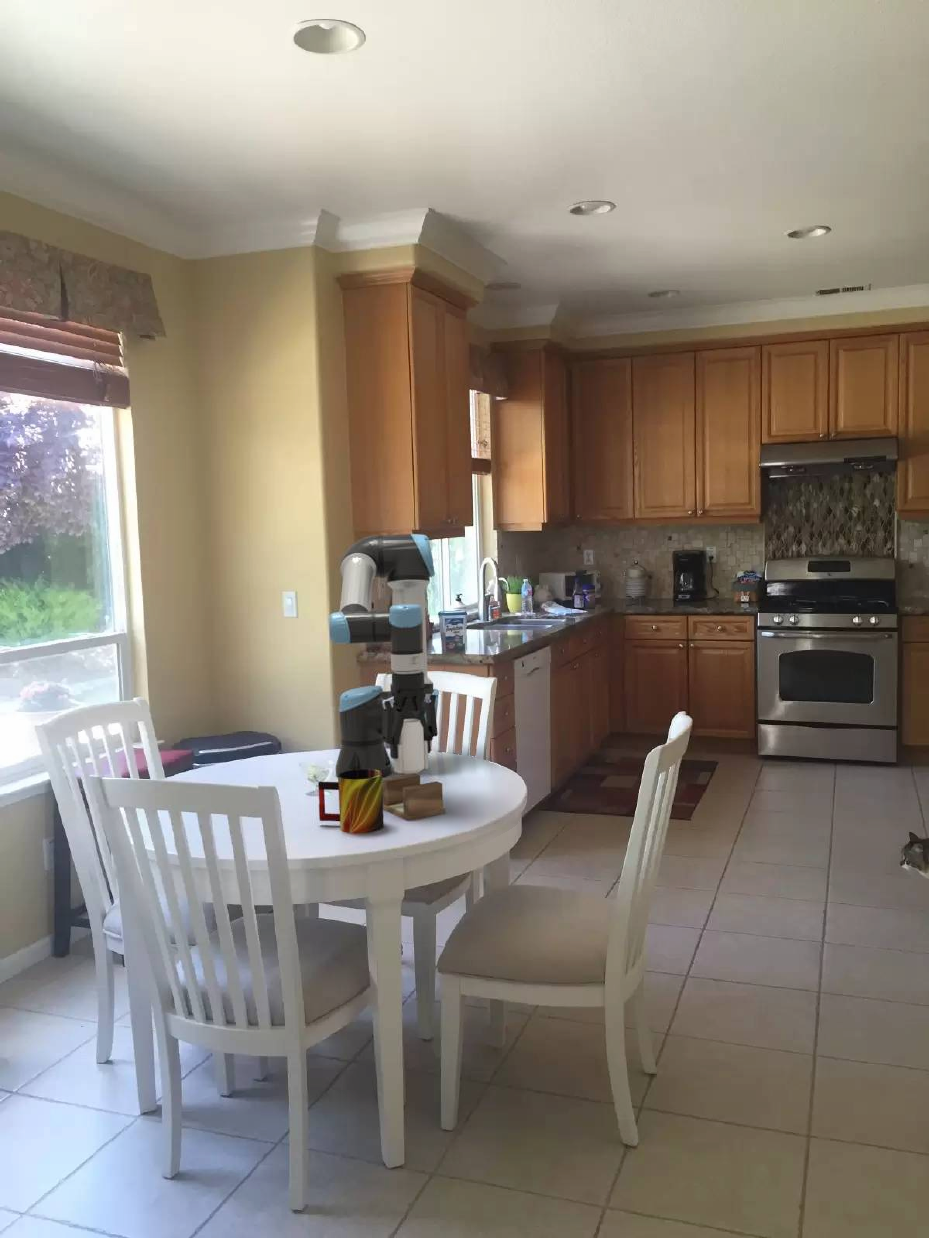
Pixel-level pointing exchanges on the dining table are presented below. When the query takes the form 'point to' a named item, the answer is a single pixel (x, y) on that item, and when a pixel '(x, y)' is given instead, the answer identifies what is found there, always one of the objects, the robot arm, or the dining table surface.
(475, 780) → the dining table surface
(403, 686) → the robot arm
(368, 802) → the mug
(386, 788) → the post bracket
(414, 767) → the beverage can
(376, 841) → the dining table surface
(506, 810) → the dining table surface
